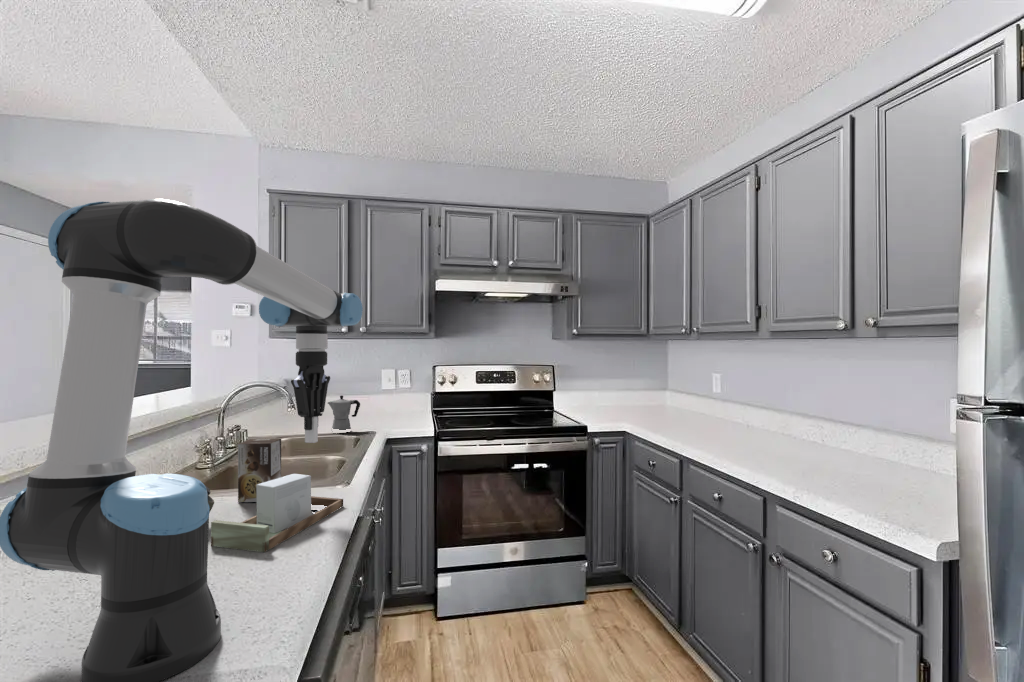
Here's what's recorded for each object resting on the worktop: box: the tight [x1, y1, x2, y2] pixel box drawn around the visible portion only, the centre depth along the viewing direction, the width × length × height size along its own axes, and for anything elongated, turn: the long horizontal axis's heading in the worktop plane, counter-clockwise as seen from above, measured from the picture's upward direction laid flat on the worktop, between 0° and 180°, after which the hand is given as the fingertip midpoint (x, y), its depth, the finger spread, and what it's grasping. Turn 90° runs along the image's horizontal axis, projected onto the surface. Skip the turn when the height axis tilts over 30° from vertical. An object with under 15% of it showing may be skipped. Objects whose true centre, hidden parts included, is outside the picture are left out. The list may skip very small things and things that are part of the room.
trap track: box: [210, 495, 344, 553], centre depth 110 cm, size 28×13×5 cm, turn 167°
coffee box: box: [237, 438, 282, 503], centre depth 128 cm, size 9×6×16 cm
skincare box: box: [256, 473, 312, 533], centre depth 110 cm, size 10×6×10 cm, turn 155°
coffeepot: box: [327, 395, 361, 430], centre depth 229 cm, size 15×9×18 cm, turn 100°
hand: (311, 441), depth 120 cm, fingers closed
